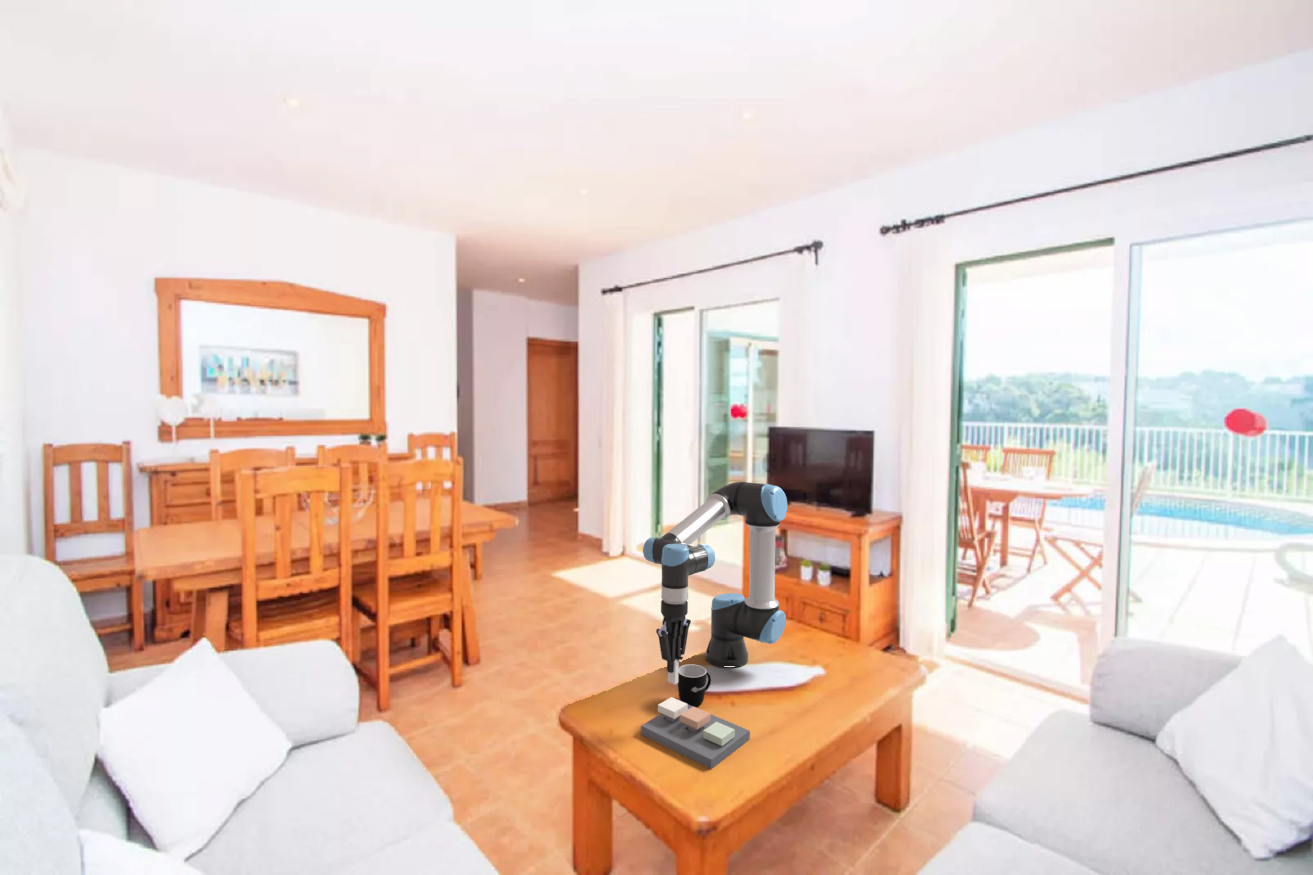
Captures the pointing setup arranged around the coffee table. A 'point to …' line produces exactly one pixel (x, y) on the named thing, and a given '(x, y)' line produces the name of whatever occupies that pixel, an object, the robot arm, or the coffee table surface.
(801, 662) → the coffee table surface
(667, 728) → the keypad base
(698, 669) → the mug
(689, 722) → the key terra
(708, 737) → the key sage
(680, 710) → the key ivory
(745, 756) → the coffee table surface
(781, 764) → the coffee table surface
